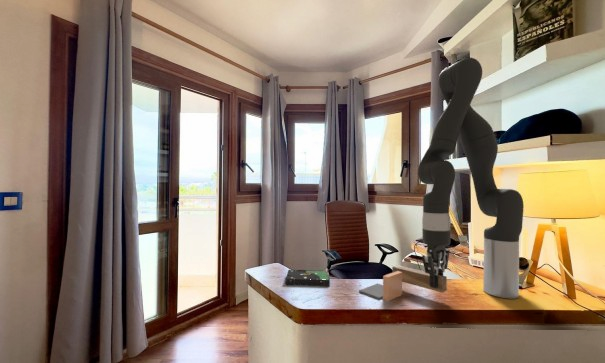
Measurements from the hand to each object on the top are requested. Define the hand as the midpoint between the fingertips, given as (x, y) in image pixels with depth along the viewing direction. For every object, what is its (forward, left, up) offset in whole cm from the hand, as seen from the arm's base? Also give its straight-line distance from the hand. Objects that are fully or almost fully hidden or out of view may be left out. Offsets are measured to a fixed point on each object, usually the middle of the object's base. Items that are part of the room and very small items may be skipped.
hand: (436, 285), depth 84 cm
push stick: (0, -6, -1) cm, 6 cm away
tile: (+8, -9, -4) cm, 13 cm away
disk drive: (+19, -36, -5) cm, 41 cm away
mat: (+8, -14, -4) cm, 17 cm away
